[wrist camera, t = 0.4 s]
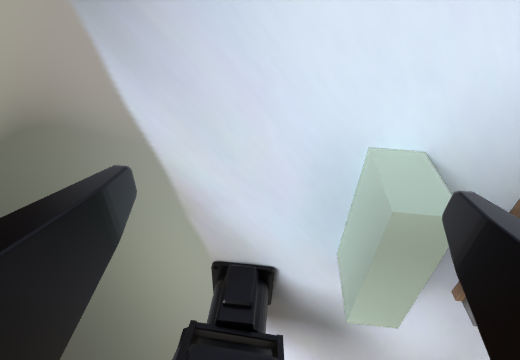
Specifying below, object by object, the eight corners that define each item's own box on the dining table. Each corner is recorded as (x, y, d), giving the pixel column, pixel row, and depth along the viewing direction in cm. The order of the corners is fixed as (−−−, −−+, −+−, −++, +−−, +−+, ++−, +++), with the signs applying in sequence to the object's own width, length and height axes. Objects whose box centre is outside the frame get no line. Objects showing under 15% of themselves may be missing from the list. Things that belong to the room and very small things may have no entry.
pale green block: (378, 256, 30) (397, 328, 24) (336, 252, 30) (346, 322, 24) (424, 150, 22) (466, 218, 17) (368, 146, 23) (392, 211, 17)
